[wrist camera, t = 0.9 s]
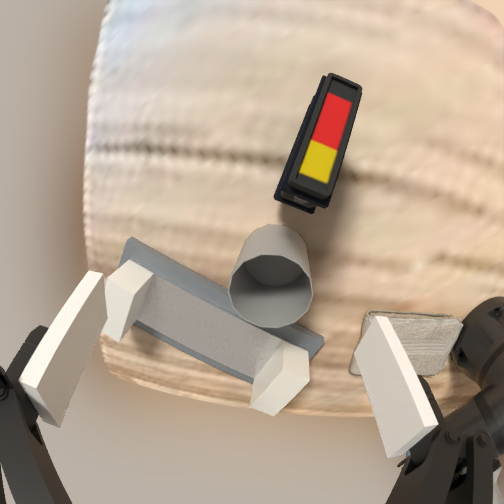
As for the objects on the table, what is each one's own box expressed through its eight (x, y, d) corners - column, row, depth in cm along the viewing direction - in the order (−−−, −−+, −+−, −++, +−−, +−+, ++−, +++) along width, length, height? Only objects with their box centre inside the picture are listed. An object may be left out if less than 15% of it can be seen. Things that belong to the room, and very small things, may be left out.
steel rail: (308, 348, 41) (308, 351, 41) (276, 384, 45) (276, 387, 44) (131, 257, 39) (129, 259, 39) (117, 303, 43) (114, 306, 42)
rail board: (323, 336, 42) (324, 342, 41) (278, 388, 47) (278, 394, 46) (131, 236, 40) (126, 240, 39) (111, 303, 45) (107, 308, 43)
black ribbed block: (264, 218, 35) (282, 183, 20) (300, 125, 36) (331, 54, 21) (294, 229, 35) (332, 203, 20) (327, 136, 36) (370, 72, 21)
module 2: (308, 351, 41) (309, 380, 35) (276, 387, 44) (273, 416, 38) (284, 340, 40) (282, 369, 35) (254, 378, 44) (249, 407, 38)
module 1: (153, 273, 39) (134, 294, 33) (136, 319, 42) (119, 342, 37) (129, 259, 39) (107, 278, 33) (114, 306, 42) (95, 327, 36)
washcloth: (436, 366, 43) (442, 378, 40) (345, 367, 45) (348, 380, 42) (461, 310, 39) (469, 320, 36) (363, 306, 40) (368, 318, 37)
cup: (296, 291, 40) (298, 335, 31) (237, 276, 40) (222, 317, 31) (315, 233, 37) (324, 265, 28) (250, 216, 37) (238, 243, 28)
